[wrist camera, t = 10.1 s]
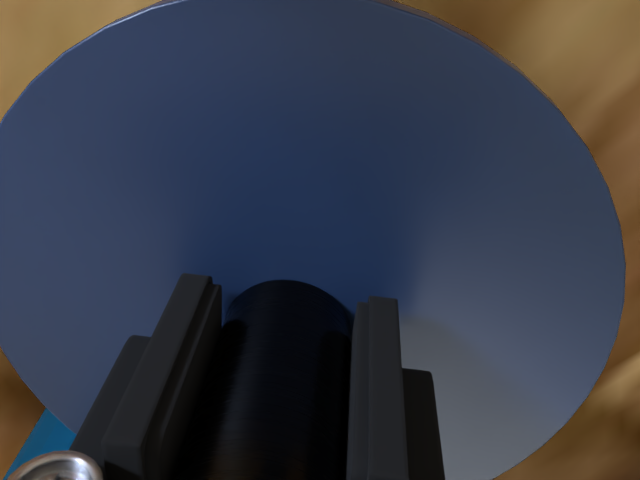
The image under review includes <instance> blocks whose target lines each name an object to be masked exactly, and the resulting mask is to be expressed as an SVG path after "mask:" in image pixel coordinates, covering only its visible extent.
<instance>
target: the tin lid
mask: <svg viewBox="0 0 640 480" xmlns="http://www.w3.org/2000/svg"><path fill="white" fill-rule="evenodd" d="M625 270H626V262H625V255H624V248H623V240H622V233H621V226H620V222H619V219H618V216H617V213H616V210H615V207H614V204H613V201H612V197H611V194H610V191H609V188H608V186H607V184H606V182H605V180H604V178H603V176H602V174H601V172H600V170H599V168H598V166H597V164H596V163H595V161H594V159H593V157H592V155H591V153H590V151H589V149H588V147H587V146H586V145H585V143H584V142H583V141H582V139H581V138H580V137H579V135H578V134H577V133H576V131H575V130H574V129H573V127H572V126H571V125H570V123H569V122H568V121H567V119H566V118H565V117H564V115H563V114H562V113H561V111H560V110H559V109H558V108H557V106H556V105H555V104H554V103H553V102H552V100H551V99H550V98H549V97H548V96H547V95H546V94H545V93H544V92H543V91H542V90H540V89H539V88H538V87H537V86H536V85H535V84H534V83H533V82H532V81H531V80H530V79H529V78H528V77H527V76H526V75H525V74H524V73H523V72H522V71H521V70H520V69H519V68H518V67H517V66H515V65H514V64H513V63H511V62H510V61H508V60H507V59H505V58H504V57H503V56H501V55H500V54H498V53H497V52H496V51H494V50H493V49H491V48H490V47H488V46H487V45H486V44H484V43H483V42H481V41H480V40H479V39H477V38H476V37H474V36H472V35H470V34H468V33H466V32H465V31H463V30H461V29H459V28H457V27H455V26H453V25H451V24H449V23H447V22H445V21H443V20H441V19H439V18H437V17H435V16H433V15H431V14H429V13H427V12H424V11H421V10H418V9H415V8H412V7H409V6H406V5H403V4H400V3H397V2H394V1H392V0H162V1H160V2H157V3H155V4H153V5H150V6H148V7H146V8H143V9H141V10H138V11H136V12H134V13H131V14H129V15H127V16H124V17H122V18H120V19H117V20H115V21H114V22H112V23H110V24H108V25H106V26H105V27H103V28H101V29H100V30H98V31H97V32H95V33H93V34H92V35H90V36H89V37H87V38H85V39H84V40H82V41H81V42H79V43H77V44H76V45H74V46H73V47H71V48H70V49H68V50H66V51H65V52H63V53H62V54H61V55H60V56H59V57H58V58H57V59H56V60H55V61H53V62H52V63H51V64H50V65H49V66H48V67H47V68H46V69H44V70H43V71H42V72H41V73H40V74H39V75H38V76H37V77H36V78H34V79H33V80H32V81H31V82H30V83H29V85H28V86H27V87H26V88H25V90H24V91H23V92H22V94H21V95H20V96H19V97H18V99H17V100H16V101H15V102H14V104H13V105H12V106H11V108H10V109H9V110H8V111H7V113H6V114H5V115H4V117H3V119H2V121H1V123H0V347H1V349H2V350H3V352H4V354H5V355H6V357H7V358H8V360H9V361H10V363H11V364H12V366H13V367H14V369H15V370H16V372H17V373H18V375H19V376H20V378H21V379H22V380H23V382H24V383H25V384H26V385H27V386H28V387H29V389H30V390H31V391H32V392H33V393H34V394H35V396H36V397H37V398H38V399H39V400H40V401H41V403H42V404H43V405H44V406H45V407H46V408H47V409H48V410H49V411H50V412H51V413H52V414H54V415H55V416H56V417H57V418H58V419H59V420H60V421H61V422H62V423H63V424H64V425H65V426H66V427H67V428H69V429H70V430H71V431H72V432H74V433H75V434H76V435H77V433H78V431H79V429H80V428H81V426H82V424H83V422H84V420H85V418H86V416H87V414H88V412H89V411H90V409H91V407H92V405H93V403H94V401H95V399H96V397H97V395H98V394H99V392H100V390H101V388H102V386H103V384H104V382H105V380H106V378H107V377H108V375H109V373H110V371H111V369H112V367H113V365H114V363H115V361H116V360H117V358H118V356H119V354H120V352H121V350H122V348H123V346H124V345H125V343H126V341H127V340H128V338H129V337H130V336H132V335H139V336H147V337H151V336H152V334H153V332H154V330H155V328H156V326H157V324H158V322H159V320H160V318H161V315H162V313H163V311H164V309H165V307H166V305H167V303H168V301H169V299H170V297H171V295H172V293H173V290H174V288H175V286H176V284H177V282H178V280H179V278H180V276H181V275H182V274H183V273H189V274H197V275H205V276H211V277H212V280H213V284H218V285H221V286H222V329H221V332H220V335H219V338H218V341H217V344H216V347H215V350H214V353H213V356H212V359H211V362H210V365H209V368H208V371H207V374H206V377H205V380H204V383H203V386H202V389H201V392H200V396H199V399H198V402H197V405H196V408H195V411H194V414H193V417H192V420H191V423H190V426H189V429H188V432H187V435H186V438H185V441H184V444H183V447H182V450H181V453H180V456H179V459H178V462H177V465H176V468H175V471H174V474H173V477H172V480H345V458H346V435H347V413H348V391H349V369H350V347H351V337H352V331H353V325H354V319H355V313H356V307H357V302H368V298H369V296H370V295H371V296H379V297H387V298H395V299H397V300H398V311H399V327H400V343H401V359H402V368H407V369H416V370H424V371H430V372H431V374H432V377H433V383H434V391H435V399H436V408H437V416H438V424H439V432H440V440H441V448H442V457H443V465H444V473H445V480H492V479H494V478H496V477H497V476H499V475H501V474H502V473H504V472H506V471H507V470H509V469H511V468H513V467H514V466H516V465H518V464H519V463H520V462H522V461H523V460H524V459H526V458H527V457H528V456H530V455H531V454H532V453H534V452H535V451H536V450H538V449H539V448H540V447H542V446H543V445H544V444H545V443H546V442H547V441H548V440H549V439H550V438H551V437H553V436H554V435H555V434H556V433H557V432H558V431H559V430H560V429H561V428H562V427H563V426H564V425H565V424H566V423H567V422H568V421H569V419H570V418H571V417H572V416H573V414H574V413H575V412H576V411H577V409H578V408H579V407H580V406H581V404H582V403H583V402H584V401H585V399H586V398H587V397H588V395H589V393H590V392H591V390H592V388H593V387H594V385H595V383H596V381H597V380H598V378H599V376H600V375H601V373H602V371H603V369H604V368H605V365H606V363H607V360H608V357H609V355H610V352H611V350H612V347H613V345H614V342H615V340H616V337H617V333H618V328H619V324H620V319H621V314H622V310H623V305H624V296H625Z"/></svg>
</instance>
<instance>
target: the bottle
mask: <svg viewBox="0 0 640 480" xmlns="http://www.w3.org/2000/svg"><path fill="white" fill-rule="evenodd" d="M75 437H76V434H75V433H74V432H72V431H71V430H70V429H69V428H67V427H66V426H65V425H64V424H63V423H62V422H61V421H60V420H59V419H58V418H57V417H56V416H55V415H54V414H52V413H51V412H50V411H49V410H48V409H47V408H46V409H45V410H44V412H43V414H42V415H41V417H40V419H39V420H38V422H37V424H36V425H35V427H34V429H33V430H32V432H31V434H30V435H29V437H28V439H27V440H26V442H25V444H24V445H23V447H22V449H21V450H20V452H19V454H18V455H17V457H16V459H15V460H14V462H13V464H12V465H11V467H10V469H9V470H8V472H7V473H6V475H5V477H4V478H3V480H6V479H7V478H8V477H9V475H10V474H12V473H13V472H14V471H15V470H16V469H17V468H19V467H20V466H21V465H22V464H24V463H25V462H27V461H29V460H31V459H33V458H35V457H37V456H39V455H42V454H46V453H49V452H52V451H63V450H69V448H70V446H71V444H72V443H73V441H74V439H75Z"/></svg>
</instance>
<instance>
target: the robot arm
mask: <svg viewBox="0 0 640 480" xmlns="http://www.w3.org/2000/svg"><path fill="white" fill-rule="evenodd" d="M221 329H222V286H221V285H218V284H213V280H212V277H211V276H205V275H197V274H189V273H183V274H182V275H181V276H180V278H179V280H178V282H177V284H176V286H175V288H174V290H173V293H172V295H171V297H170V299H169V301H168V303H167V305H166V307H165V309H164V311H163V313H162V315H161V318H160V320H159V322H158V324H157V326H156V328H155V330H154V332H153V334H152V336H151V337H147V336H139V335H132V336H130V337H129V338H128V340H127V341H126V343H125V345H124V346H123V348H122V350H121V352H120V354H119V356H118V358H117V360H116V361H115V363H114V365H113V367H112V369H111V371H110V373H109V375H108V377H107V378H106V380H105V382H104V384H103V386H102V388H101V390H100V392H99V394H98V395H97V397H96V399H95V401H94V403H93V405H92V407H91V409H90V411H89V412H88V414H87V416H86V418H85V420H84V422H83V424H82V426H81V428H80V429H79V431H78V433H77V435H76V437H75V439H74V441H73V443H72V444H71V446H70V448H69V450H63V451H52V452H49V453H46V454H42V455H39V456H37V457H35V458H33V459H31V460H29V461H27V462H25V463H24V464H22V465H21V466H20V467H19V468H17V469H16V470H15V471H14V472H13V473H12V474H10V475H9V477H8V478H7V479H6V480H172V477H173V474H174V471H175V468H176V465H177V462H178V459H179V456H180V453H181V450H182V447H183V444H184V441H185V438H186V435H187V432H188V429H189V426H190V423H191V420H192V417H193V414H194V411H195V408H196V405H197V402H198V399H199V396H200V392H201V389H202V386H203V383H204V380H205V377H206V374H207V371H208V368H209V365H210V362H211V359H212V356H213V353H214V350H215V347H216V344H217V341H218V338H219V335H220V332H221ZM345 480H445V473H444V465H443V457H442V448H441V440H440V432H439V424H438V416H437V408H436V399H435V391H434V383H433V377H432V374H431V372H430V371H424V370H416V369H407V368H402V359H401V343H400V327H399V311H398V300H397V299H395V298H387V297H379V296H371V295H370V296H369V298H368V302H357V307H356V313H355V319H354V325H353V331H352V337H351V347H350V369H349V391H348V413H347V435H346V458H345Z"/></svg>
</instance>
